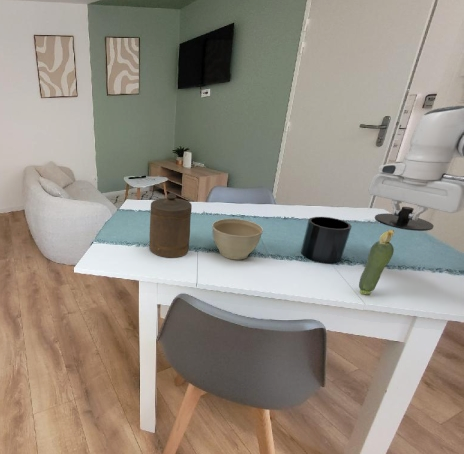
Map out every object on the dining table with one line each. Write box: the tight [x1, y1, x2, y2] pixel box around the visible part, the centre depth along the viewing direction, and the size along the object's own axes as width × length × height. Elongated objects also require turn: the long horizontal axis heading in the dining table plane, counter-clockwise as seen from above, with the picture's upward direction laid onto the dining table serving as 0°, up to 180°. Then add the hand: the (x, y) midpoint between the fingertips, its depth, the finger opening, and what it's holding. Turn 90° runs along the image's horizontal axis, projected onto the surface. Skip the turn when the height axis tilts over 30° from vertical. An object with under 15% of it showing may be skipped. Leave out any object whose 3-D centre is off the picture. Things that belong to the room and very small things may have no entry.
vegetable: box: [358, 229, 395, 295], centre depth 78 cm, size 4×4×20 cm
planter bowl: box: [211, 218, 264, 261], centre depth 104 cm, size 16×16×11 cm
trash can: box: [300, 216, 352, 265], centre depth 99 cm, size 11×11×12 cm
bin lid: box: [374, 206, 434, 232], centre depth 85 cm, size 12×12×5 cm
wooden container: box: [149, 192, 193, 258], centre depth 108 cm, size 15×15×22 cm
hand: (404, 217), depth 85 cm, fingers closed on bin lid, 2 cm apart
